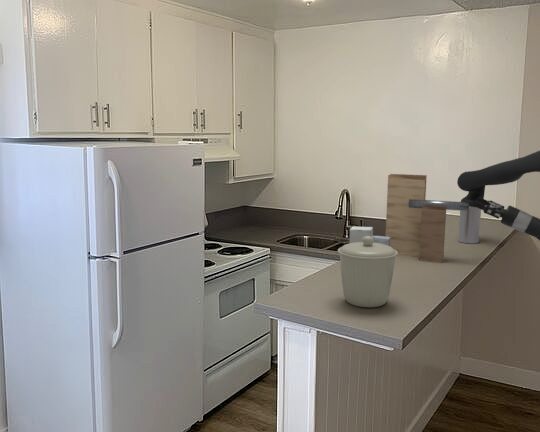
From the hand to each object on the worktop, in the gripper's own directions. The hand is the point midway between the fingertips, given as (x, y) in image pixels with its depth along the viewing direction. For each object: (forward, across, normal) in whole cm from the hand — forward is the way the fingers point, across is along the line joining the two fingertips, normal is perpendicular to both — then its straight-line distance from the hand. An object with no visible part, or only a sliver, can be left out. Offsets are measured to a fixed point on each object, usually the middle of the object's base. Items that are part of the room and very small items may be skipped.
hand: (475, 201), depth 220 cm
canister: (+13, +71, +28) cm, 77 cm away
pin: (+12, +3, +8) cm, 15 cm away
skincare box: (+26, +30, +35) cm, 53 cm away
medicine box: (+24, +11, +36) cm, 44 cm away
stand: (+17, -2, +33) cm, 38 cm away
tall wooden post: (+5, +4, +28) cm, 29 cm away
